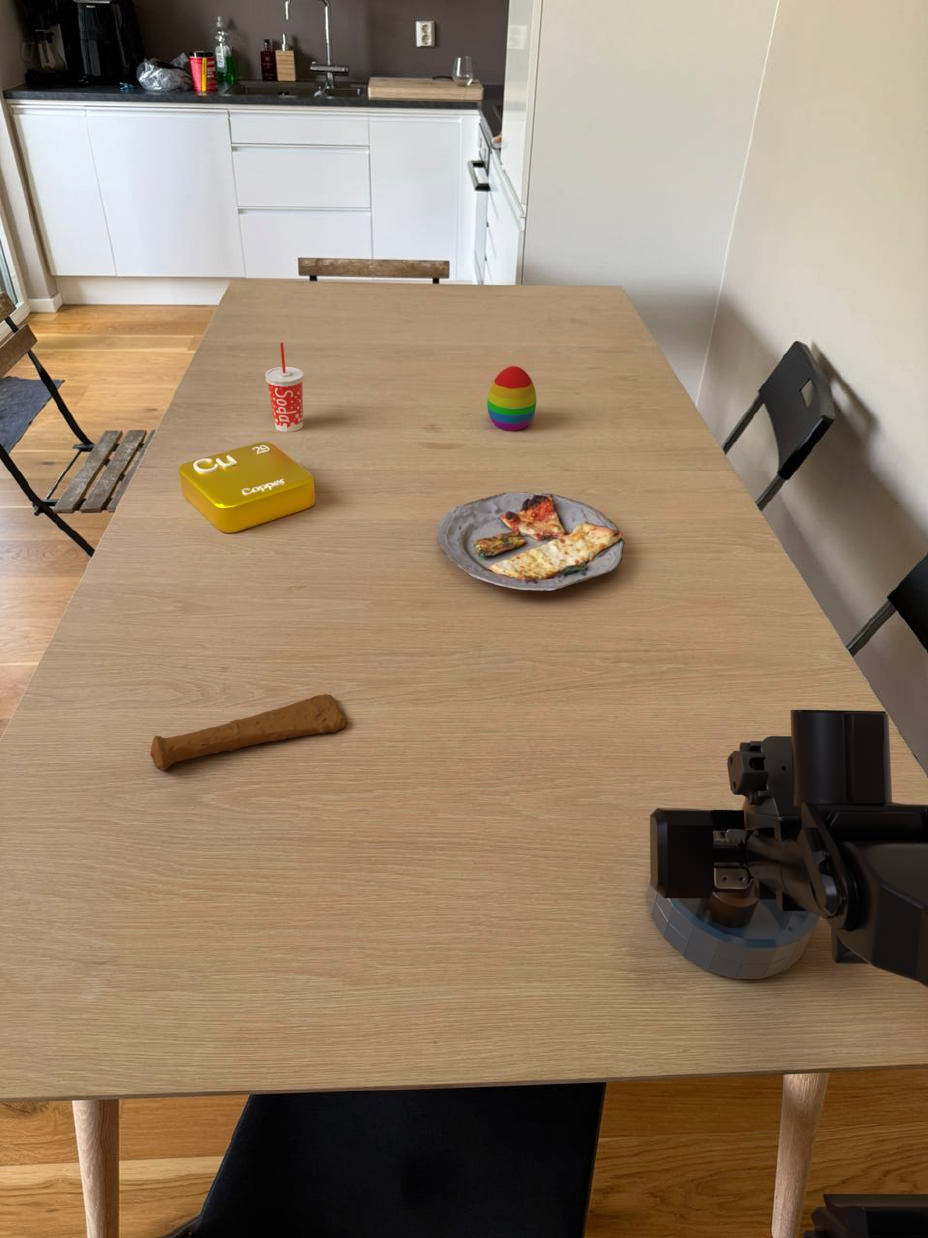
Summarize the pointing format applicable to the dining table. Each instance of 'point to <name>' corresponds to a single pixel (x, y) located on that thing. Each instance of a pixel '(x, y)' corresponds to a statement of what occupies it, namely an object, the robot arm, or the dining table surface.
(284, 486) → the element tile
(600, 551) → the food plate
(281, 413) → the beverage cup
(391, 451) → the dining table surface
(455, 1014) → the dining table surface
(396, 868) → the dining table surface
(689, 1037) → the dining table surface
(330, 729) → the primitive tool
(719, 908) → the pestle
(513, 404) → the decorative egg
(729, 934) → the bowl
